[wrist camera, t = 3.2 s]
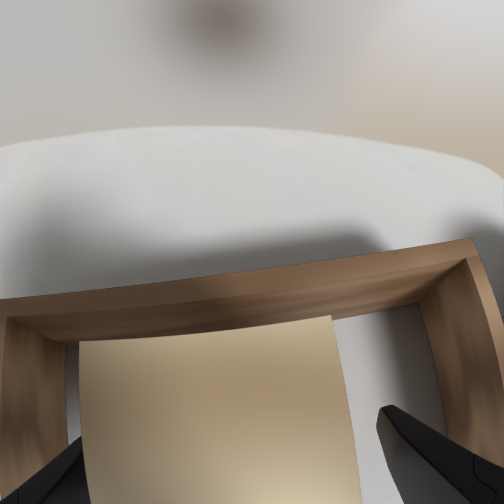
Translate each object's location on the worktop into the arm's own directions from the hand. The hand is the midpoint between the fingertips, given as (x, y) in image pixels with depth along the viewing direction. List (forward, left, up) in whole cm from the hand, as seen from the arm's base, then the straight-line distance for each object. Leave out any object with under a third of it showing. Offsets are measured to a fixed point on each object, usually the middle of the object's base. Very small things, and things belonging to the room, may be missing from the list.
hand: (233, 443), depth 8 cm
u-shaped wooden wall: (0, 0, -8) cm, 8 cm away
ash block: (0, 0, -8) cm, 8 cm away
